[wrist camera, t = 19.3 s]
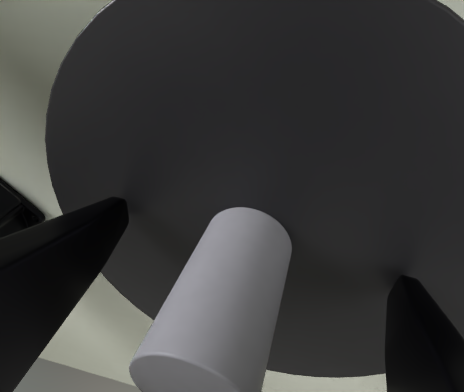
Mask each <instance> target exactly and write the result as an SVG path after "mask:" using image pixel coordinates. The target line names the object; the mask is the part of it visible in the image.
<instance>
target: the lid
mask: <svg viewBox="0 0 464 392" xmlns="http://www.w3.org/2000/svg"><path fill="white" fill-rule="evenodd" d="M45 142H46V153H47V163H48V168H49V172H50V177H51V181H52V186H53V189H54V192H55V194H56V197H57V200H58V203H59V206H60V208H61V211H62V213H63V215H64V214H67V213H69V212H72V211H75V210H78V209H80V208H83V207H86V206H88V205H91V204H94V203H96V202H99V201H102V200H104V199H107V198H110V197H113V196H114V197H119V198H123V199H125V200H126V201H127V206H128V213H129V224H128V226H127V228H126V230H125V232H124V233H123V235H122V237H121V239H120V240H119V242H118V244H117V246H116V247H115V249H114V251H113V252H112V254H111V256H110V258H109V259H108V261H107V263H106V264H105V266H104V267H103V269H102V270H101V271H100V272H101V273H102V274H103V276H104V277H105V278H106V279H107V280H108V281H109V282H110V283H111V284H112V285H113V286H114V287H115V288H116V289H117V290H118V291H119V292H120V293H121V294H122V295H123V296H124V297H125V298H127V299H128V300H129V301H130V302H131V303H132V304H133V305H135V306H136V307H137V308H138V309H140V310H141V311H142V312H144V313H145V314H146V315H148V316H149V317H150V318H152V319H153V320H154V322H153V323H152V325H151V327H150V329H149V330H148V332H147V334H146V335H145V337H144V339H143V341H142V342H141V344H140V346H139V348H138V349H137V351H136V353H135V355H134V356H133V358H132V360H131V362H130V366H129V372H130V375H131V378H132V380H133V381H134V383H135V384H136V386H137V387H138V388H139V389H140V390H141V391H142V392H261V390H262V385H263V381H264V376H265V372H266V370H270V371H276V372H282V373H287V374H293V375H303V376H312V377H337V378H340V377H360V376H369V375H377V374H384V373H386V369H385V331H386V311H387V298H388V295H389V293H390V291H391V289H392V287H393V286H394V284H395V282H396V281H397V279H398V278H399V276H401V275H406V276H409V277H413V278H416V279H418V280H419V281H420V282H421V284H422V285H423V286H424V287H425V289H426V290H427V291H428V293H429V294H430V295H431V296H432V298H433V299H434V300H435V302H436V303H437V304H438V305H439V307H440V308H441V309H442V311H443V312H444V313H445V315H446V316H447V317H448V318H449V320H450V321H451V322H452V324H453V325H454V326H455V327H456V329H457V330H458V331H459V333H460V334H461V335H462V336H463V338H464V20H463V19H462V18H461V17H460V16H459V15H457V14H456V13H455V12H454V11H453V10H451V9H450V8H449V7H447V6H446V5H444V4H442V3H440V2H439V1H437V0H112V1H111V2H110V3H108V4H107V5H106V6H105V7H103V8H102V9H101V10H100V11H99V12H98V13H97V14H96V15H95V16H94V17H93V18H92V20H91V21H90V22H89V23H88V24H87V25H86V27H85V28H84V29H83V30H82V31H81V32H80V33H79V35H78V36H77V37H76V39H75V41H74V42H73V44H72V46H71V47H70V49H69V51H68V52H67V54H66V56H65V57H64V59H63V61H62V63H61V65H60V68H59V70H58V73H57V76H56V78H55V81H54V84H53V86H52V89H51V94H50V99H49V104H48V109H47V114H46V134H45Z"/></svg>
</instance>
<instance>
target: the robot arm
mask: <svg viewBox="0 0 464 392" xmlns="http://www.w3.org/2000/svg"><path fill="white" fill-rule="evenodd" d="M44 221H45V216H44V215H43V214H42V213H41V212H40V211H39V210H37V209H36V208H35V207H34V206H33V205H31V204H30V203H29V202H28V201H26V200H25V199H24V198H23V197H22V196H20V195H19V194H18V193H17V192H15V191H14V190H13V189H12V188H11V187H9V186H8V185H7V184H6V183H4V182H3V181H2V180H1V179H0V392H13V391H14V389H15V388H16V387H17V385H18V384H19V382H20V381H21V380H22V378H23V377H24V376H25V374H26V373H27V372H28V370H29V369H30V367H31V366H32V364H33V363H34V362H35V360H36V359H37V358H38V356H39V355H40V354H41V352H42V351H43V350H44V348H45V347H46V346H47V344H48V343H49V341H50V340H51V339H52V337H53V336H54V335H55V333H56V332H57V330H58V329H59V328H60V326H61V325H62V324H63V322H64V321H65V319H66V318H67V317H68V315H69V314H70V313H71V311H72V310H73V308H74V307H75V306H76V304H77V303H78V302H79V300H80V299H81V298H82V296H83V295H84V293H85V292H86V291H87V289H88V288H89V287H90V285H91V284H92V282H93V281H94V280H95V278H96V277H97V276H98V274H99V273H100V271H101V270H102V269H103V267H104V266H105V264H106V263H107V261H108V259H109V258H110V256H111V254H112V252H113V251H114V249H115V247H116V246H117V244H118V242H119V240H120V239H121V237H122V235H123V233H124V232H125V230H126V228H127V226H128V224H129V213H128V206H127V201H126V200H125V199H123V198H119V197H114V196H113V197H110V198H107V199H104V200H102V201H99V202H96V203H94V204H91V205H88V206H86V207H83V208H80V209H78V210H75V211H72V212H69V213H67V214H64V215H61V216H59V217H56V218H53V219H51V220H48V221H45V222H44ZM385 369H386V383H387V392H464V338H463V336H462V335H461V334H460V333H459V331H458V330H457V329H456V327H455V326H454V325H453V324H452V322H451V321H450V320H449V318H448V317H447V316H446V315H445V313H444V312H443V311H442V309H441V308H440V307H439V305H438V304H437V303H436V302H435V300H434V299H433V298H432V296H431V295H430V294H429V293H428V291H427V290H426V289H425V287H424V286H423V285H422V284H421V282H420V281H419V280H418V279H416V278H413V277H409V276H406V275H401V276H399V278H398V279H397V281H396V282H395V284H394V286H393V287H392V289H391V291H390V293H389V295H388V298H387V311H386V331H385Z"/></svg>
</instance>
